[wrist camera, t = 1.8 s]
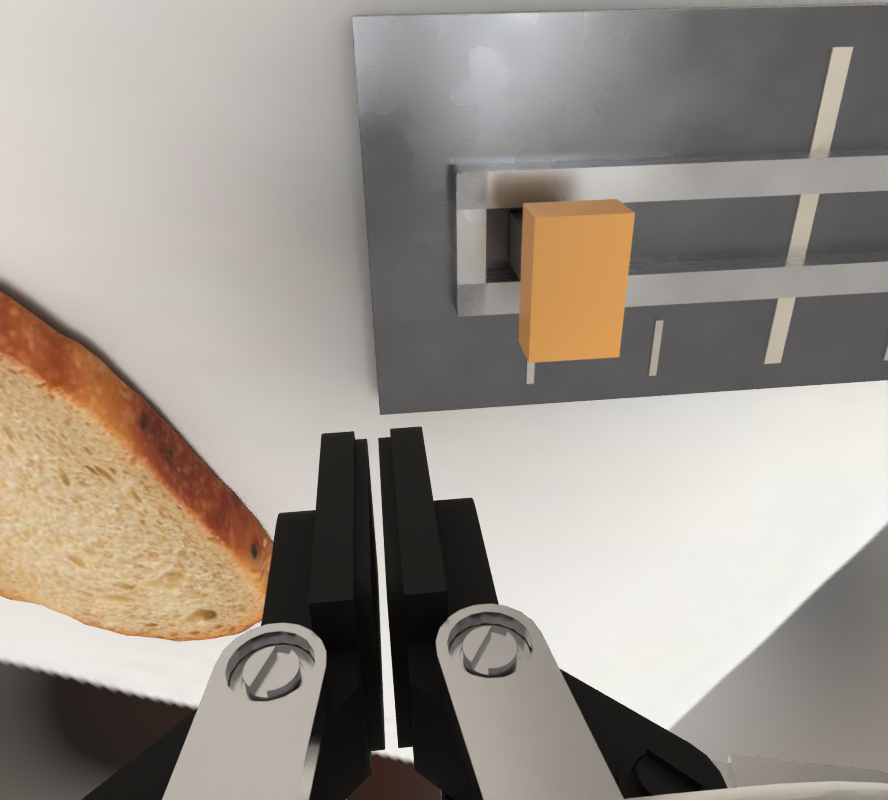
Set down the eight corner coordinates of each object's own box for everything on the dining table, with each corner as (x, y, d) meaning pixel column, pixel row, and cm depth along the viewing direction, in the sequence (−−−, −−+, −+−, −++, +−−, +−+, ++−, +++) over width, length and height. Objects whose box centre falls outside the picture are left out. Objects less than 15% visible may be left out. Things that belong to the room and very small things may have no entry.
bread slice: (290, 620, 37) (284, 680, 34) (-100, 611, 34) (-148, 676, 31) (308, 287, 29) (302, 324, 25) (-208, 238, 26) (-289, 273, 23)
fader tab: (580, 170, 25) (635, 212, 20) (571, 292, 27) (619, 357, 22) (499, 174, 25) (535, 217, 20) (497, 296, 27) (528, 362, 22)
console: (1082, -2, 26) (1169, -2, 23) (955, 353, 33) (1011, 386, 30) (352, 15, 24) (351, 18, 21) (378, 390, 31) (380, 430, 28)
